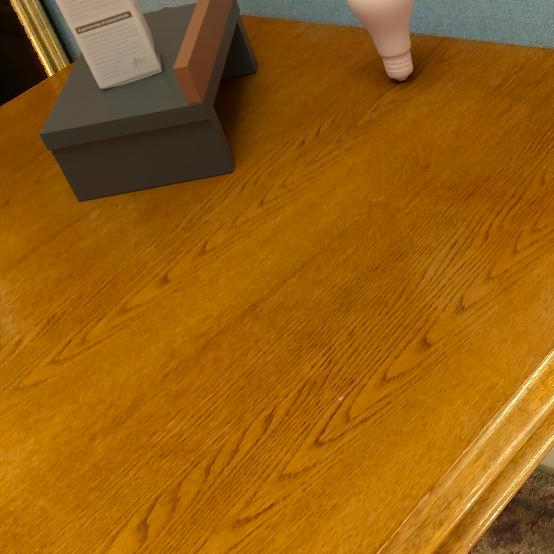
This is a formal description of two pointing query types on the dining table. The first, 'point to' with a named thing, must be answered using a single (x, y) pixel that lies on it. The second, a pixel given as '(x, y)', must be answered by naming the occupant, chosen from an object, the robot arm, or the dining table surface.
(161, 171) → the grey lidded gift box
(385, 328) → the dining table surface
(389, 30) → the lightbulb
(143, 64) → the syrup box
